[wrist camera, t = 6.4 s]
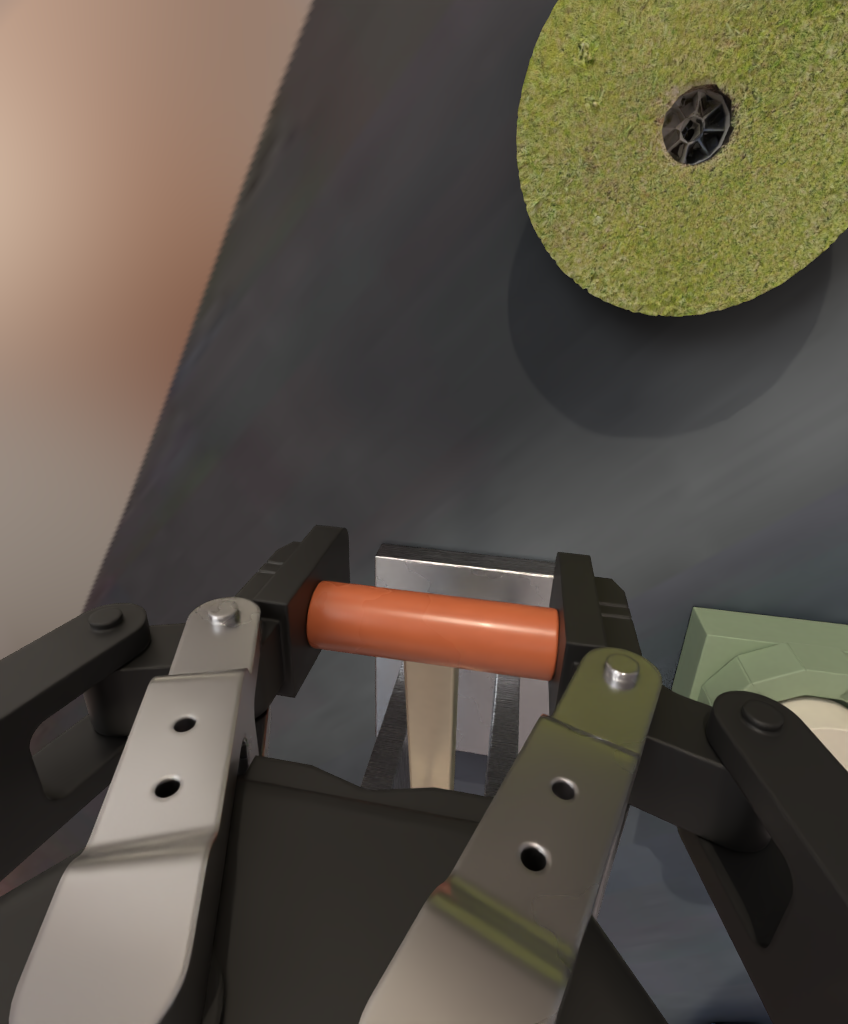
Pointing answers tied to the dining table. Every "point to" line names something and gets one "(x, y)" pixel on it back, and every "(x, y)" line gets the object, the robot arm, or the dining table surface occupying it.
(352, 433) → the dining table surface
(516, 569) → the bracket
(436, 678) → the lever
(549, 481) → the dining table surface
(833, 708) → the button
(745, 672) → the control block
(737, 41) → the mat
